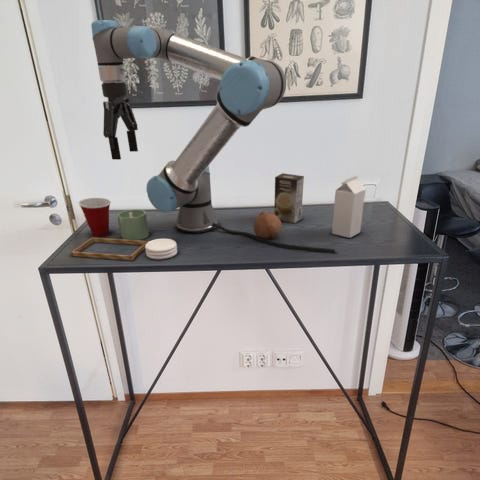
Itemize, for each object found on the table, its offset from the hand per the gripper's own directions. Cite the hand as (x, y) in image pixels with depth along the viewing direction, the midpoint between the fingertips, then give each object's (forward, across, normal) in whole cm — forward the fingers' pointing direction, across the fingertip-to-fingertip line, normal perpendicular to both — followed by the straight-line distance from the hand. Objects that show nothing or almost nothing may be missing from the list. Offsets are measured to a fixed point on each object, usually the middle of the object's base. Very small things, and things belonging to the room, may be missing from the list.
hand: (125, 155), depth 140 cm
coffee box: (+27, +20, -53) cm, 62 cm away
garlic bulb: (+26, -4, -1) cm, 26 cm away
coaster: (+27, -19, -16) cm, 37 cm away
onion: (+27, -1, -48) cm, 55 cm away
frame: (+26, -18, +2) cm, 32 cm away
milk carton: (+27, +7, -74) cm, 79 cm away
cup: (+26, -4, -1) cm, 27 cm away
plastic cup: (+27, -4, +12) cm, 30 cm away
